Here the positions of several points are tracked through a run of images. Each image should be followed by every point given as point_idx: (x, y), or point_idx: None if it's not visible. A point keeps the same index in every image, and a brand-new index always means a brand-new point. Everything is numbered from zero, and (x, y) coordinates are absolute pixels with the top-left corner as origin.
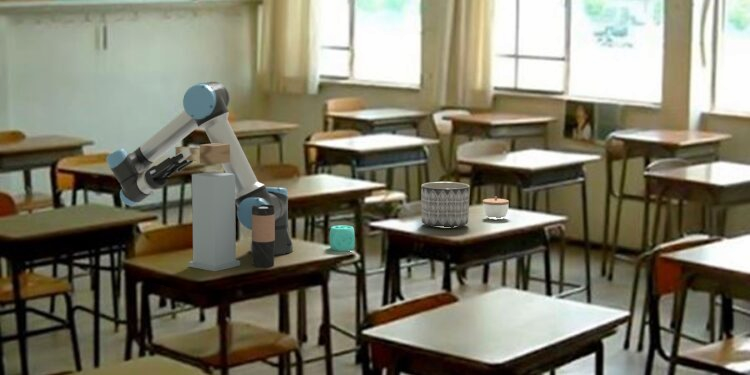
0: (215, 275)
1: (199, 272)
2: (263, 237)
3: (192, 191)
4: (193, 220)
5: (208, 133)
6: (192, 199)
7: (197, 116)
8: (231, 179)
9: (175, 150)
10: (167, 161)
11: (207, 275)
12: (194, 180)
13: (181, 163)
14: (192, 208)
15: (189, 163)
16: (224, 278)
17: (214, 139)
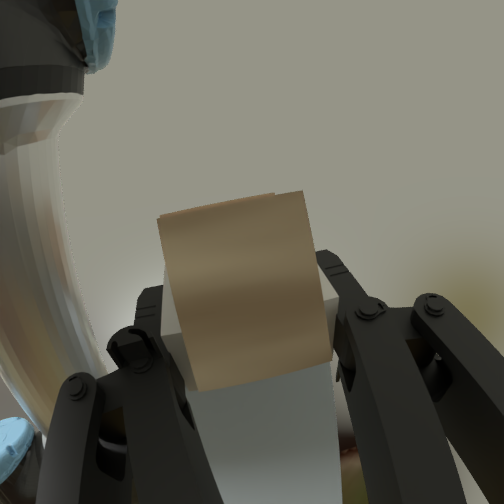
0: (343, 473)
1: (360, 500)
2: None
3: (334, 407)
4: (340, 485)
5: (39, 173)
6: (337, 434)
7: (113, 38)
8: None
9: (312, 240)
10: (438, 417)
11: (357, 476)
12: None
13: (207, 474)
14: (339, 460)
15: (119, 459)
16: (340, 452)
17: (60, 218)
